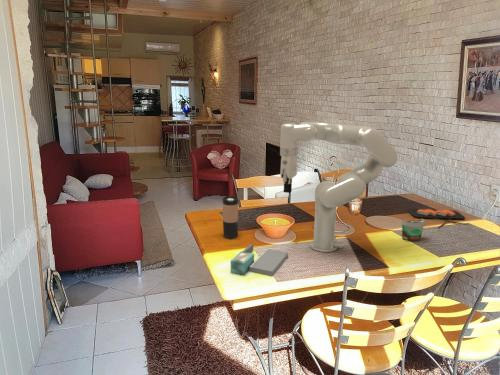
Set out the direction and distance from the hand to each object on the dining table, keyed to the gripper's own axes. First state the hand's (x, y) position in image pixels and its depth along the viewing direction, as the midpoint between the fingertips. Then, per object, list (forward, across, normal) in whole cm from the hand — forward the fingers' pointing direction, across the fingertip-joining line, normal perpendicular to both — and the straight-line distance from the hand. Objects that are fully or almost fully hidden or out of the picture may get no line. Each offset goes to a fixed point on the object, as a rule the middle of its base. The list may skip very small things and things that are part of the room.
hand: (287, 192), depth 172 cm
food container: (+27, +35, -55) cm, 71 cm away
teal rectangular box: (+27, -28, +9) cm, 40 cm away
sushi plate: (+28, +74, -68) cm, 105 cm away
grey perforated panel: (+27, -19, +5) cm, 33 cm away
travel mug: (+27, +2, +30) cm, 41 cm away
